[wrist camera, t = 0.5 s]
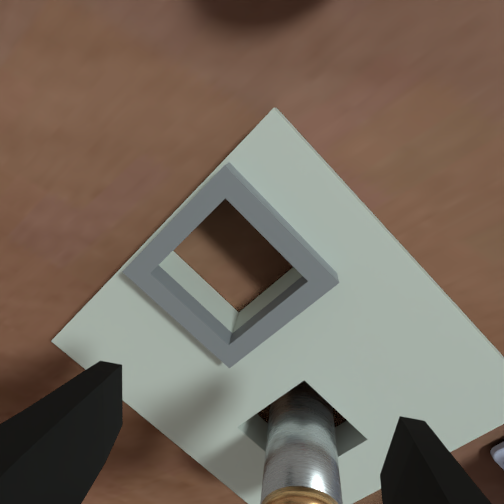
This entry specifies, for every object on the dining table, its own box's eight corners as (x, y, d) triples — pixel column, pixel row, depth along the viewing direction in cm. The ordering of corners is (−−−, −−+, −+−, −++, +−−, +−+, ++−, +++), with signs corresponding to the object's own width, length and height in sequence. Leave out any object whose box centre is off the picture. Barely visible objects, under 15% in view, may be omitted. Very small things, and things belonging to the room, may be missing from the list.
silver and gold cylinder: (345, 409, 21) (364, 541, 15) (299, 438, 23) (298, 573, 16) (303, 369, 21) (304, 489, 14) (258, 401, 22) (239, 526, 15)
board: (520, 374, 19) (557, 419, 17) (289, 504, 25) (288, 555, 22) (276, 108, 16) (271, 107, 14) (72, 321, 22) (38, 352, 19)
